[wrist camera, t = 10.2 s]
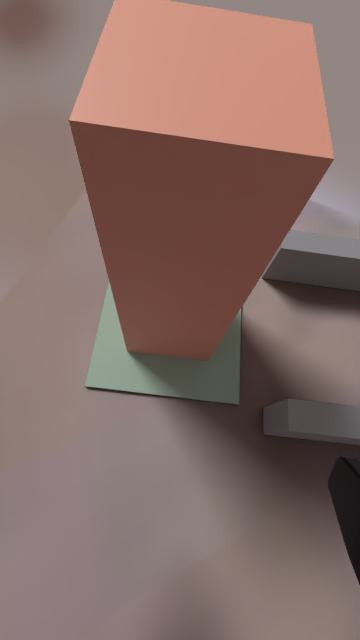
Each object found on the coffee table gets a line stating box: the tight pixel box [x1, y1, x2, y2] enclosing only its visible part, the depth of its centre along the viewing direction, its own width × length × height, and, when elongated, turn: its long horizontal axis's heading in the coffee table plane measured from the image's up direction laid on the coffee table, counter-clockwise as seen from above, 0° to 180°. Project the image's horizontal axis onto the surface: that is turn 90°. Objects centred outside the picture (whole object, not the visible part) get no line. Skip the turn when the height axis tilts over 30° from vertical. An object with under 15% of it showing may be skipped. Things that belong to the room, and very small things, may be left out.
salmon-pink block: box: [69, 0, 334, 361], centre depth 13 cm, size 5×5×14 cm
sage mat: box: [85, 282, 241, 405], centre depth 20 cm, size 10×9×1 cm
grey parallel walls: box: [262, 230, 360, 446], centre depth 18 cm, size 12×10×4 cm
